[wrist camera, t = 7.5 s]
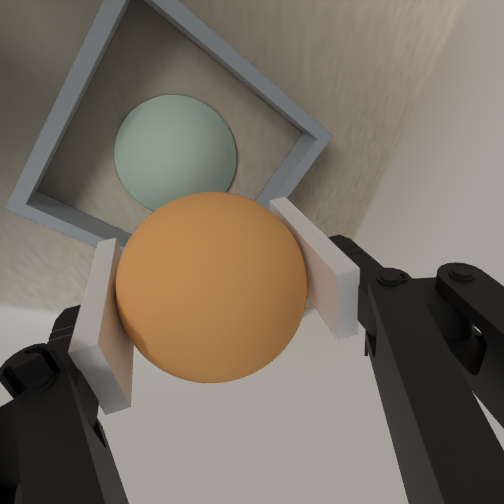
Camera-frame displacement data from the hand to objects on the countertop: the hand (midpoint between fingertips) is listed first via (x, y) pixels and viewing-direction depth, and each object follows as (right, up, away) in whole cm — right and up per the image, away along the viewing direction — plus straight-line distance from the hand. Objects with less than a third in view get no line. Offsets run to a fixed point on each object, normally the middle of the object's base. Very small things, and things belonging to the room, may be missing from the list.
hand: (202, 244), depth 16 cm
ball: (0, 0, 0) cm, 0 cm away
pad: (-4, +7, +13) cm, 15 cm away
